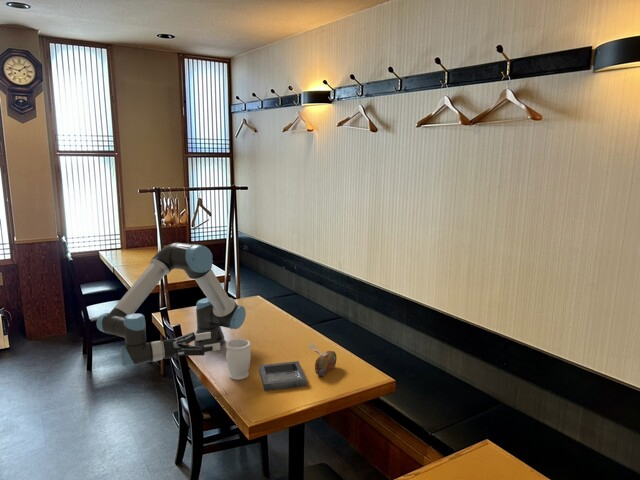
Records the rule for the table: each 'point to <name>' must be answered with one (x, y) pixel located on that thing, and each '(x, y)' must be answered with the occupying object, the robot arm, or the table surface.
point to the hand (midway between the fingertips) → (215, 340)
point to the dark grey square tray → (282, 375)
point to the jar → (238, 358)
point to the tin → (325, 363)
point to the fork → (314, 348)
